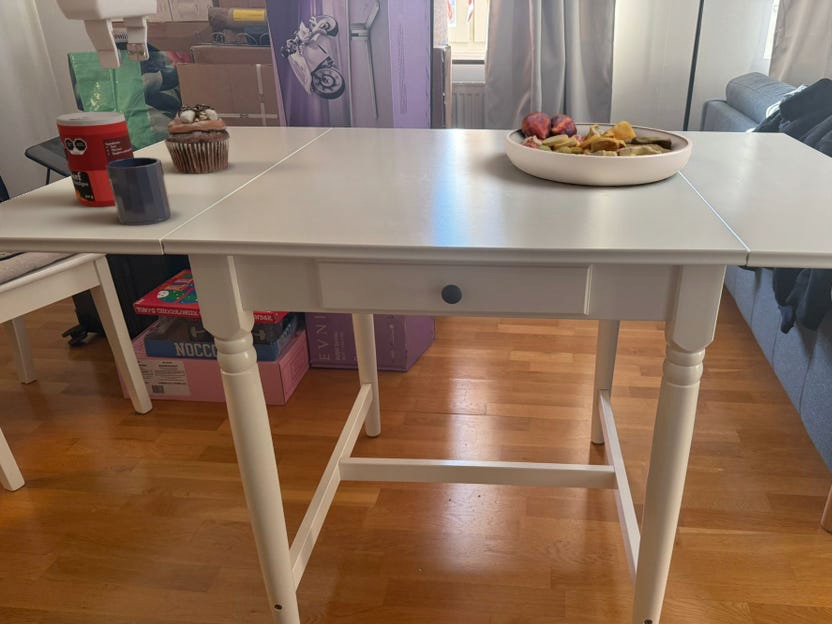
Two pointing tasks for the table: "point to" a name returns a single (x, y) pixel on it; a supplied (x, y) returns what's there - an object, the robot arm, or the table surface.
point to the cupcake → (198, 140)
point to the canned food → (93, 152)
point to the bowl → (595, 151)
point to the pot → (139, 190)
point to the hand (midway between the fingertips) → (126, 64)
